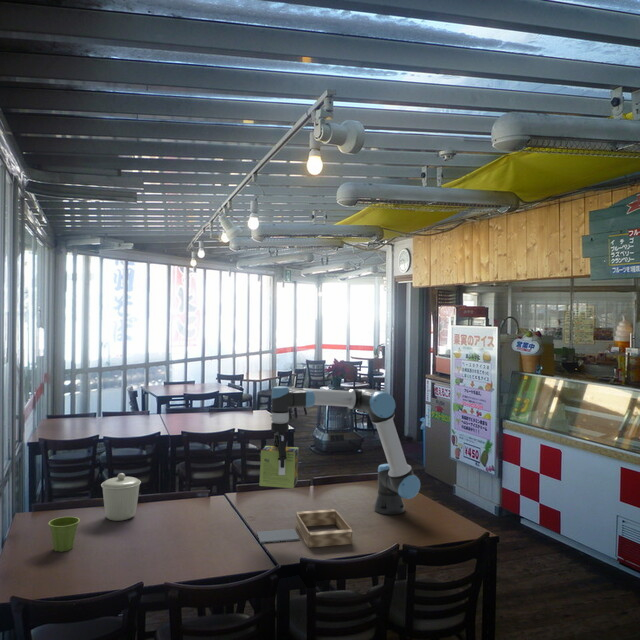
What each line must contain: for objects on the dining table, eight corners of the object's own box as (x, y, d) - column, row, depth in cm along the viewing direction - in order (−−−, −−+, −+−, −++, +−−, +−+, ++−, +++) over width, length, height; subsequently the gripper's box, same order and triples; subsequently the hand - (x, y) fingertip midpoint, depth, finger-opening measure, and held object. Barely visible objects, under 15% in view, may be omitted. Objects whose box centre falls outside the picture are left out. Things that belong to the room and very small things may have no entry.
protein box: (294, 488, 246) (295, 452, 246) (258, 486, 247) (260, 450, 248) (297, 482, 256) (299, 447, 256) (263, 479, 258) (265, 445, 258)
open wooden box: (334, 521, 271) (335, 509, 271) (353, 545, 242) (354, 531, 242) (295, 525, 267) (295, 512, 267) (309, 549, 238) (309, 535, 238)
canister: (92, 520, 270) (92, 475, 270) (118, 509, 287) (119, 467, 287) (122, 526, 263) (123, 480, 263) (148, 514, 280) (149, 470, 280)
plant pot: (59, 556, 228) (59, 528, 228) (41, 550, 234) (42, 522, 235) (85, 547, 238) (85, 519, 238) (68, 541, 244) (68, 514, 245)
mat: (294, 530, 259) (294, 528, 260) (299, 540, 248) (299, 538, 248) (256, 533, 255) (256, 531, 255) (260, 543, 244) (260, 541, 244)
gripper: (267, 417, 263) (266, 464, 263) (276, 427, 239) (275, 478, 239) (283, 417, 265) (282, 464, 265) (293, 426, 241) (293, 477, 241)
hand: (279, 471), depth 252 cm, fingers closed on protein box, 12 cm apart
